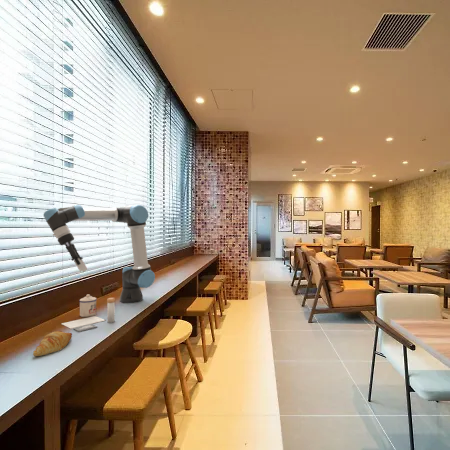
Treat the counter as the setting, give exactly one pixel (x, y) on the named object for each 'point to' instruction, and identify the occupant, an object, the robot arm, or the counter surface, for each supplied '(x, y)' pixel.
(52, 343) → the croissant
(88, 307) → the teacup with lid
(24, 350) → the counter surface
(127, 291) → the robot arm
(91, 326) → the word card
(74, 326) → the paper
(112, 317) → the white bottle
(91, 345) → the counter surface
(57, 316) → the counter surface
